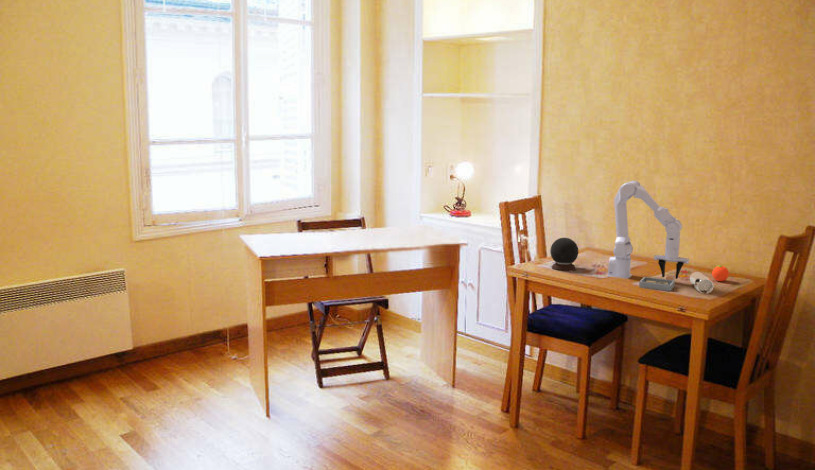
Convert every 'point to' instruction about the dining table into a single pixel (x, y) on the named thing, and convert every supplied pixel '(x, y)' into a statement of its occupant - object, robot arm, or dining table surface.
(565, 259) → the black ball on stand
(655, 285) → the tub
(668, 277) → the lid
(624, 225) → the robot arm
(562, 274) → the dining table surface
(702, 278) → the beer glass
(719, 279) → the clementine
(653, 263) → the dining table surface
